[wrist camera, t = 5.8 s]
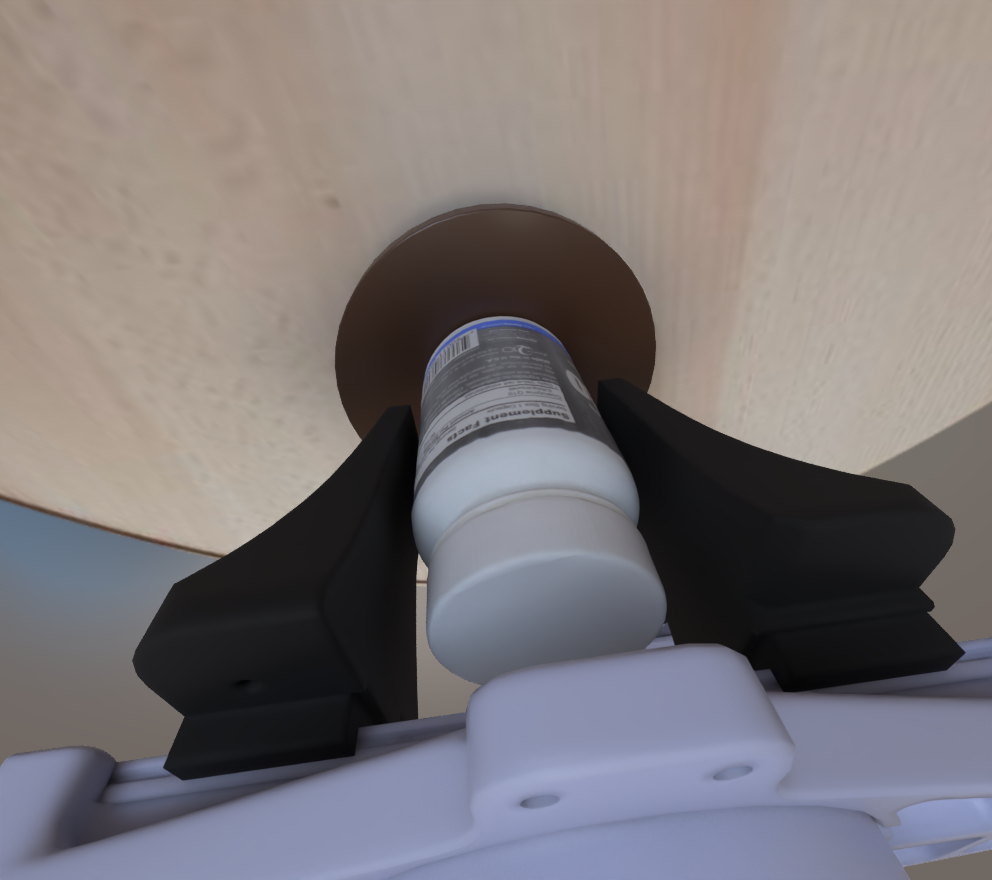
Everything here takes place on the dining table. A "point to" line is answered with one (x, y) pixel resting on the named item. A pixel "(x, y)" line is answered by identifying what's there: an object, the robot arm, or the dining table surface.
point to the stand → (488, 303)
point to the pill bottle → (525, 510)
